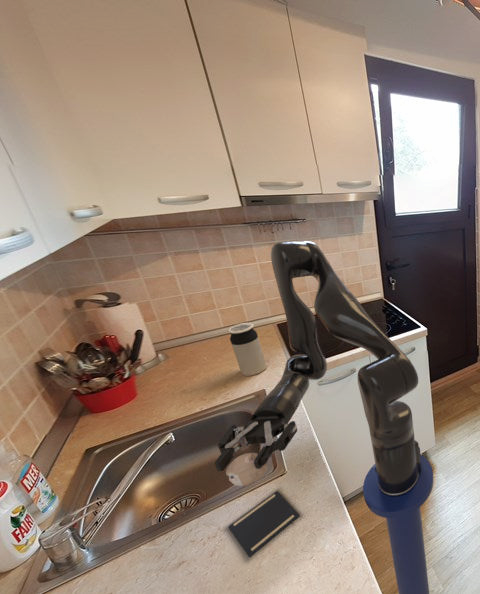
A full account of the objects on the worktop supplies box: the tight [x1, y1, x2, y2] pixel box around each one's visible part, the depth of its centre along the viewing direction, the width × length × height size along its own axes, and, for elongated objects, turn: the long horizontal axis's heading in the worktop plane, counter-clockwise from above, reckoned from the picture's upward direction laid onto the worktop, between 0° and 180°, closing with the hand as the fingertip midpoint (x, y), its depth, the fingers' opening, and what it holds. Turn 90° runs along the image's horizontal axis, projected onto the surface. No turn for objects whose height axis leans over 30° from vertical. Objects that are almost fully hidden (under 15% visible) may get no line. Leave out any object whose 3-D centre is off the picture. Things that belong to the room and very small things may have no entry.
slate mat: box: [228, 490, 300, 558], centre depth 71 cm, size 10×10×1 cm
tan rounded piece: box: [225, 452, 269, 487], centre depth 66 cm, size 7×6×8 cm
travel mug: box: [227, 322, 268, 377], centre depth 119 cm, size 8×8×18 cm
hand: (238, 466), depth 64 cm, fingers closed on tan rounded piece, 6 cm apart
